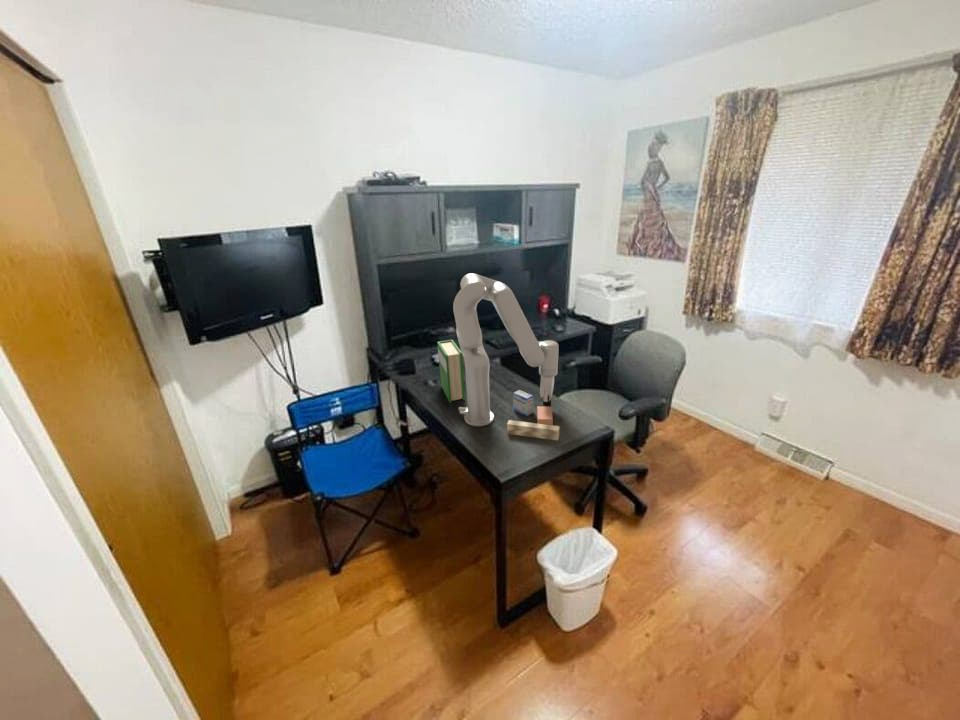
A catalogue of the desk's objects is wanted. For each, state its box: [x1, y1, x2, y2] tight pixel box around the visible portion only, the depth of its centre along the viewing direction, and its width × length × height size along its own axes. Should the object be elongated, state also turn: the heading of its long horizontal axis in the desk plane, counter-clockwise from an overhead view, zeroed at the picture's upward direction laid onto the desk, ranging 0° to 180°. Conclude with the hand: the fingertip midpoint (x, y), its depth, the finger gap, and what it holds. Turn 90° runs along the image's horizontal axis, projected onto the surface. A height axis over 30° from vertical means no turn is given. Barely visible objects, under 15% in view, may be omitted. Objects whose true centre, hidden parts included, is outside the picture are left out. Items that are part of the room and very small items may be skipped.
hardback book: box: [436, 339, 466, 404], centre depth 180 cm, size 18×7×24 cm, turn 18°
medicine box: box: [512, 389, 534, 417], centre depth 165 cm, size 8×4×9 cm, turn 44°
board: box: [506, 419, 561, 441], centre depth 150 cm, size 20×3×4 cm, turn 73°
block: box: [536, 405, 554, 426], centre depth 159 cm, size 6×10×4 cm, turn 173°
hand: (546, 408), depth 166 cm, fingers closed
